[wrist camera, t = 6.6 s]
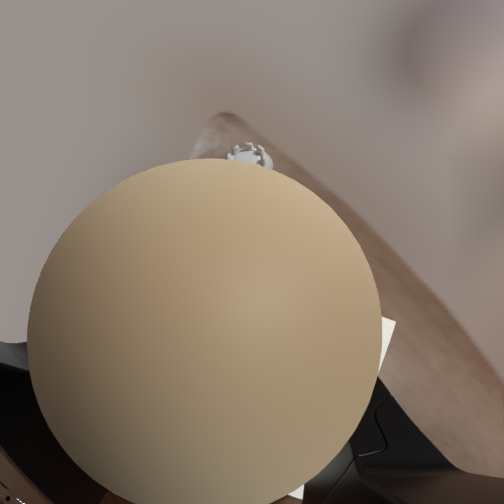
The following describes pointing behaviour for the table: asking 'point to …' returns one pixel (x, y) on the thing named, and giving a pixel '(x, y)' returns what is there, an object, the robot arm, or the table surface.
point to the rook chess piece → (251, 155)
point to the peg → (205, 335)
